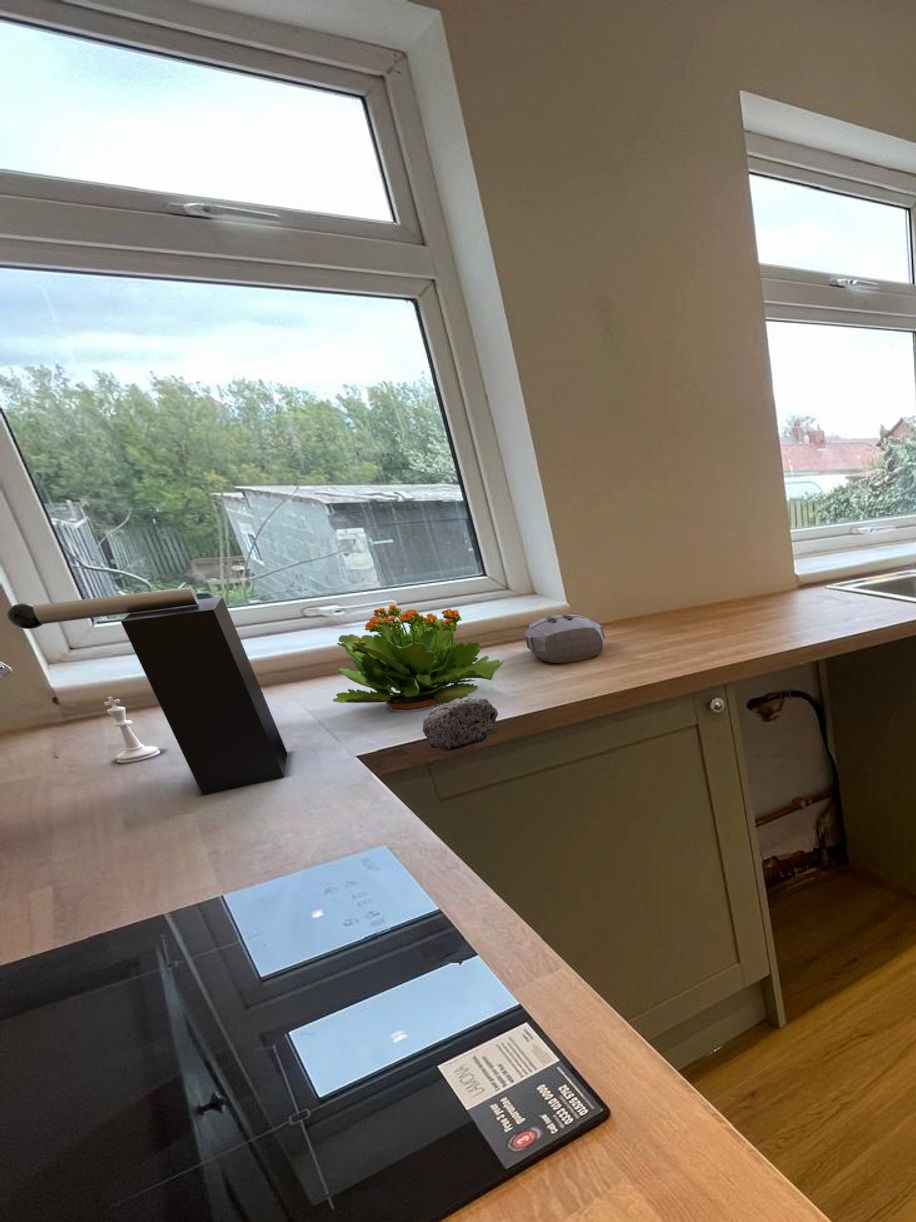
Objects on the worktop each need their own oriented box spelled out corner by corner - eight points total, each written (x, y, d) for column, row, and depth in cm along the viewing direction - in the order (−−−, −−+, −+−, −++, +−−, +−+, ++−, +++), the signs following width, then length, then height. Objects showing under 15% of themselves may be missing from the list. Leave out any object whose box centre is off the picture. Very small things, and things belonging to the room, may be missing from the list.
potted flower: (369, 736, 133) (330, 632, 126) (307, 715, 144) (269, 618, 138) (519, 692, 152) (493, 599, 145) (454, 676, 164) (427, 590, 157)
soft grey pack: (616, 653, 175) (590, 637, 189) (607, 615, 171) (582, 602, 186) (539, 669, 166) (519, 651, 180) (528, 629, 163) (508, 614, 177)
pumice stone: (434, 754, 131) (429, 756, 122) (418, 707, 129) (411, 706, 121) (506, 736, 136) (506, 738, 127) (491, 692, 134) (490, 690, 126)
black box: (202, 795, 113) (120, 621, 104) (211, 769, 122) (137, 607, 113) (284, 776, 118) (213, 609, 109) (287, 753, 127) (222, 596, 118)
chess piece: (164, 753, 129) (136, 694, 125) (122, 765, 125) (91, 704, 121) (155, 748, 132) (126, 690, 128) (113, 759, 128) (82, 699, 124)
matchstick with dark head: (10, 633, 101) (-3, 607, 100) (18, 628, 104) (5, 603, 102) (198, 609, 111) (188, 585, 110) (201, 605, 113) (191, 582, 112)
